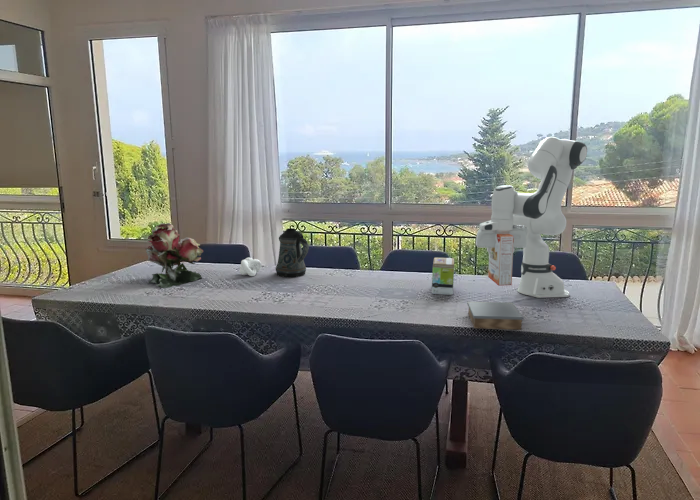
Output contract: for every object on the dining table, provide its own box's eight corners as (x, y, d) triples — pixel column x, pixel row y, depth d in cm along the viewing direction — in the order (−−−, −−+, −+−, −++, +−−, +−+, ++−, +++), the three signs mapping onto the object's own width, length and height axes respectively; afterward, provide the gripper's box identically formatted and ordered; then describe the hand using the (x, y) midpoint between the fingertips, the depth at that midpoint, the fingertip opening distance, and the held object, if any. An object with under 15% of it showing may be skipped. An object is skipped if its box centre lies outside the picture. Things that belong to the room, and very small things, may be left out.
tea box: (453, 295, 227) (454, 264, 224) (431, 294, 229) (432, 263, 226) (453, 286, 242) (454, 257, 239) (432, 285, 244) (433, 256, 241)
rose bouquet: (211, 276, 264) (207, 221, 258) (165, 289, 240) (160, 228, 234) (178, 271, 277) (174, 218, 271) (132, 282, 253) (127, 224, 247)
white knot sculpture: (233, 275, 266) (232, 259, 265) (249, 271, 276) (249, 255, 274) (248, 278, 260) (247, 261, 258) (264, 273, 270) (263, 257, 268)
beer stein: (280, 270, 278) (279, 226, 273) (314, 271, 275) (313, 226, 270) (271, 277, 262) (270, 230, 257) (307, 278, 259) (306, 231, 254)
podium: (512, 314, 200) (512, 302, 199) (522, 330, 182) (523, 317, 181) (466, 313, 201) (467, 301, 200) (473, 328, 184) (473, 315, 183)
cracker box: (487, 277, 215) (489, 230, 211) (500, 277, 215) (503, 229, 211) (497, 286, 201) (499, 235, 197) (512, 285, 201) (514, 235, 197)
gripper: (525, 224, 205) (524, 256, 208) (475, 223, 207) (474, 256, 210) (529, 226, 199) (527, 259, 202) (478, 226, 201) (476, 259, 204)
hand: (500, 257), depth 206 cm, fingers closed on cracker box, 6 cm apart
